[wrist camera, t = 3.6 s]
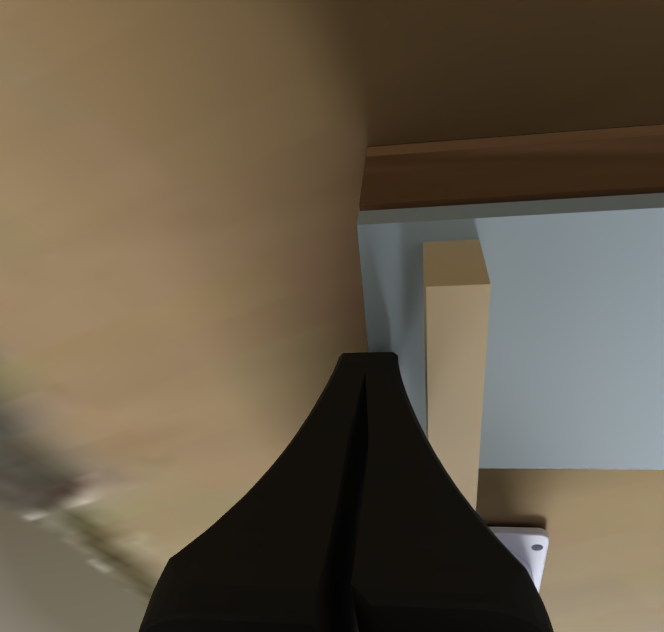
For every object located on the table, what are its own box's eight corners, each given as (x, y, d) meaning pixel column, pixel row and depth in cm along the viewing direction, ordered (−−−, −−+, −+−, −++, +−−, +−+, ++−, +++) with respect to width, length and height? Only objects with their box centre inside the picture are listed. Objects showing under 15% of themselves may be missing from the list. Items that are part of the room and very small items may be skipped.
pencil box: (865, 348, 18) (966, 440, 15) (382, 358, 21) (379, 441, 17) (1008, 98, 14) (1196, 153, 11) (367, 146, 16) (359, 204, 13)
